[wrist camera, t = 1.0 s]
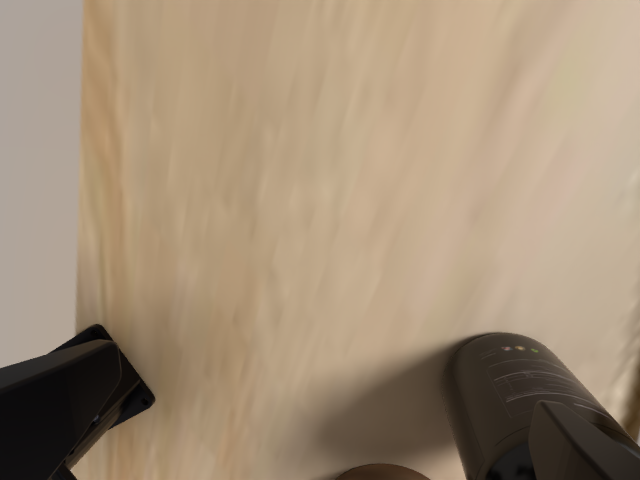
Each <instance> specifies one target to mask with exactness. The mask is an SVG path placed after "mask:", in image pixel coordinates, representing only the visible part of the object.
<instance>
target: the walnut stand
mask: <svg viewBox="0 0 640 480" xmlns="http://www.w3.org/2000/svg"><path fill="white" fill-rule="evenodd" d="M336 480H430V479H429V478H427V477H426V476H424V475H422V474H420V473H418V472H416V471H414V470H411V469H408V468H405V467H401V466H397V465H390V464H372V465H365V466H361V467H357V468H355V469H352V470H350V471H348V472H346V473H344V474H342V475H341V476H339V477H338V478H337V479H336Z"/></svg>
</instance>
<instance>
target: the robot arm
mask: <svg viewBox="0 0 640 480" xmlns="http://www.w3.org/2000/svg"><path fill="white" fill-rule="evenodd" d="M95 331H96V332H97V333H98V334H96V333H95ZM145 399H147V400H148V401H146V400H145ZM154 402H155V397H154V395H153V393H152V392H151V391H150V389H149V388H148V387H147V385H146V384H145V383H144V381H143V380H142V379H141V377H140V376H139V374H138V373H137V372H136V370H135V369H134V368H133V366H132V365H131V364H130V362H129V361H128V360H127V358H126V357H125V356H124V354H123V353H122V352H121V350H120V349H119V347H118V345H117V344H116V343H115V342H114V341H113V339H112V338H111V337H110V335H109V334H108V333H107V331H106V330H105V329H104V327H103V326H101V325H99V324H95V325H93V326H91V327H90V328H88V329H86V330H85V331H83V332H82V333H80V334H78V335H77V336H75V337H74V338H72V339H71V340H69V341H67V342H66V343H64V344H62V345H61V346H59V347H58V348H56V349H55V350H53V351H51V352H50V353H48V354H47V355H43V356H40V357H37V358H33V359H30V360H27V361H23V362H20V363H17V364H13V365H10V366H7V367H3V368H0V480H77V479H76V477H75V476H74V475H73V473H72V472H71V471H70V470H71V468H72V467H73V466H74V465H75V464H76V463H77V462H78V461H79V460H80V459H81V458H82V457H83V456H84V455H85V453H86V452H87V451H88V450H89V449H90V448H91V447H92V446H93V445H94V444H95V443H96V442H97V441H98V440H99V438H100V437H101V436H102V435H103V434H104V433H105V432H106V431H107V430H109V429H111V428H113V427H114V426H116V425H118V424H120V423H122V422H124V421H126V420H128V419H129V418H131V417H133V416H135V415H137V414H139V413H141V412H143V411H144V410H146V409H148V408H150V407H151V406H152V405H153V404H154ZM529 449H530V454H531V458H532V462H533V466H534V470H535V474H536V479H537V480H640V459H639V458H638V457H636V456H635V455H634V454H632V453H631V452H629V451H628V450H627V449H625V448H624V447H622V446H621V445H620V444H618V443H617V442H615V441H614V440H613V439H611V438H610V437H608V436H607V435H606V434H604V433H603V432H601V431H600V430H599V429H597V428H596V427H594V426H593V425H592V424H590V423H589V422H588V421H586V420H585V419H583V418H582V417H581V416H579V415H578V414H576V413H575V412H574V411H572V410H571V409H569V408H568V407H567V406H565V405H564V404H562V403H559V402H551V401H544V400H540V401H538V402H537V403H536V405H535V408H534V413H533V418H532V422H531V427H530V432H529Z"/></svg>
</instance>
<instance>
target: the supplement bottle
mask: <svg viewBox="0 0 640 480" xmlns="http://www.w3.org/2000/svg"><path fill="white" fill-rule="evenodd" d="M442 395H443V401H444V404H445V408H446V412H447V415H448V419H449V422H450V426H451V429H452V432H453V436H454V439H455V443H456V446H457V449H458V453H459V456H460V459H461V463H462V466H463V470H464V473H465V476H466V480H537V479H536V474H535V470H534V466H533V462H532V458H531V454H530V449H529V432H530V427H531V422H532V418H533V413H534V408H535V405H536V403H537V402H538V401H540V400H544V401H551V402H559V403H562V404H564V405H565V406H567V407H568V408H569V409H571V410H572V411H574V412H575V413H576V414H578V415H579V416H581V417H582V418H583V419H585V420H586V421H588V422H589V423H590V424H592V425H593V426H594V427H596V428H597V429H599V430H600V431H601V432H603V433H604V434H606V435H607V436H608V437H610V438H611V439H613V440H614V441H615V442H617V443H618V444H620V445H621V446H622V447H624V448H625V449H627V450H628V451H629V452H631V453H632V454H634V455H635V456H636V457H638V458H639V459H640V447H639V446H638V445H637V443H636V442H635V441H634V440H633V439H632V438H631V437H630V436H629V435H628V434H627V432H626V431H625V430H624V429H623V428H622V427H621V426H620V425H619V424H618V423H617V422H616V420H615V419H614V418H613V417H612V416H611V415H610V414H609V413H608V412H607V411H606V410H605V408H604V407H603V406H602V405H601V404H600V403H599V402H598V401H597V400H596V399H595V398H594V396H593V395H592V394H591V393H590V392H589V391H588V390H587V389H586V388H585V387H584V385H583V384H582V383H581V382H580V381H579V380H578V379H577V378H576V377H575V376H574V375H573V373H572V372H571V371H570V370H569V369H568V368H567V367H566V366H565V365H564V364H563V363H562V362H561V361H560V360H559V359H558V357H557V356H556V355H555V354H554V353H553V352H552V351H550V350H549V349H548V348H547V347H546V346H544V345H543V344H541V343H540V342H538V341H536V340H534V339H531V338H529V337H526V336H523V335H519V334H512V333H496V334H489V335H485V336H482V337H479V338H477V339H474V340H472V341H470V342H469V343H467V344H466V345H464V346H463V347H462V348H460V349H459V350H458V351H457V352H456V353H455V354H454V355H453V357H452V358H451V359H450V361H449V363H448V364H447V366H446V369H445V371H444V375H443V379H442Z"/></svg>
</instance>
